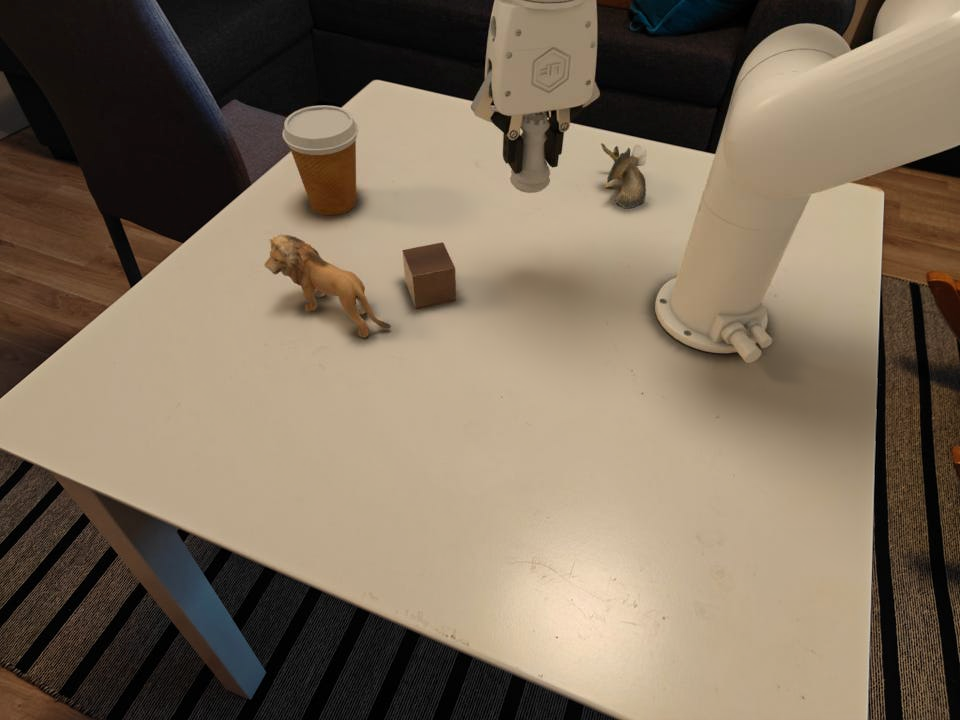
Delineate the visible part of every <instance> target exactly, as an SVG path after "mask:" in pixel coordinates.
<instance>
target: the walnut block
mask: <svg viewBox="0 0 960 720" xmlns="http://www.w3.org/2000/svg"><path fill="white" fill-rule="evenodd" d="M401 251H402V260H403V270H404V272H403V273H404V281H405V285H406V287H407V290H408V293H409V295H410V298H411V301H412V303H413V306H414V309H416V310H417V309H421V308H425V307H430V306H435V305H440V304H443V303H450V302H454V301H456V300H457V288H456V286H457V285H456V282H457V281H456V267H455V264H454V262H453V260H452V257H451V256H450V254H449V252H448V249H447V247H446V245H445V243H444V242H438V243H437V242H436V243H432V244H426V245H420V246H416V247H411V248H406V249H402V250H401Z"/></svg>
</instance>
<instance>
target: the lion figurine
mask: <svg viewBox="0 0 960 720" xmlns="http://www.w3.org/2000/svg"><path fill="white" fill-rule="evenodd" d="M269 242H270V251H269V257H268V259H267V260H266V261H265V262H264V265H263V266H264V268H266V269H268V271H269V272H271V273H272V274H273V275H278V274H280V273H281V274H282V275H283V276H285V277H289V278H290V280H291V281H292V283H294V284H296V285H298V286H300V287H301V290H302V292H303V295H304V297H305V298H306V300H307V301H308V303H305V304H304V310H305V311H306V312H314V311H315V310H316V309H317V308H318V302H317V299H316V297H318V298H322V297H325V296H326V295H327V296H331V297H338V300H339V303H340V305H341V307H342V308H343V311H344V312H345V313H346V314H347V316H348V317H349V318H350V319H351V320H352V321H353V322H355V323H356V325H357V326H358V327H359V328H358V330H357V334H358V337H360V338H362V339H363V338H367V337H368V336H369V335H370V328H369V325H368V324H367V321H366V320H365V319H364V318H363V317H362V316H361V315H364V314H367V315H368V316H369V318H370V320H371V321H372V322H374V323H375V324H376V325H377V326H379V327H380V328H382V330H383V329H384V330H385V329H386V330H388V329H390V328H391V327H392V326H391V324H390V323H388V322H384V321H382V320H380V319H378V318H377V317H376V316H375V314H374V313H373V310H372V308H371V306H370V304H369V302H368V299H367V297H366V295H365V291H366V287H365V285H364V283H363V281H362V280H361V278H360V277H358V275H356V274H355V273H354V272H352V271H348V270H346V269H341V268H340V267H337V266H335V265H334V264H331V263H330V262H328V261H326V260H325V259H323V258H322V257H321V256H320V253H319V252H318V250H317V249H315V247H313V246H312V245H311V244H309V243H307V242H306V241H304V240H302V239H300V238H298V237H297V236H292V235H290V234H278V235H277V236H274V237H272V238H269ZM315 296H316V297H315ZM357 302H358V303H359V305H358V306H357Z"/></svg>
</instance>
